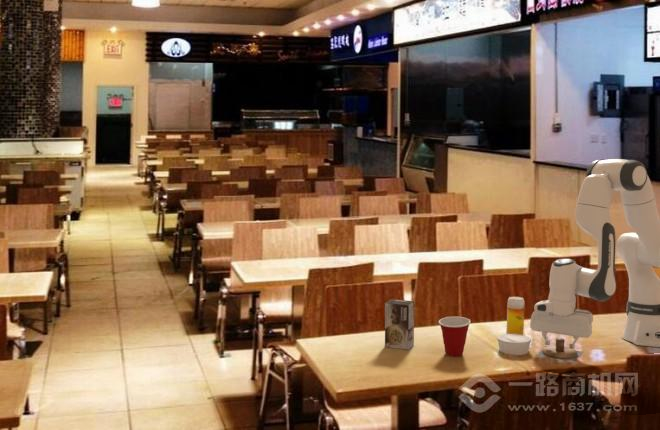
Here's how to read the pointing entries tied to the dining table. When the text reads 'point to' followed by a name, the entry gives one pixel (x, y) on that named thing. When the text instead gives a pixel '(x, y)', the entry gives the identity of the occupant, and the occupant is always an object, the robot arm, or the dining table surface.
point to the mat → (559, 358)
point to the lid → (559, 350)
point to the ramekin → (514, 344)
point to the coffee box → (399, 324)
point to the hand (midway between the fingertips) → (559, 346)
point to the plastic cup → (454, 334)
